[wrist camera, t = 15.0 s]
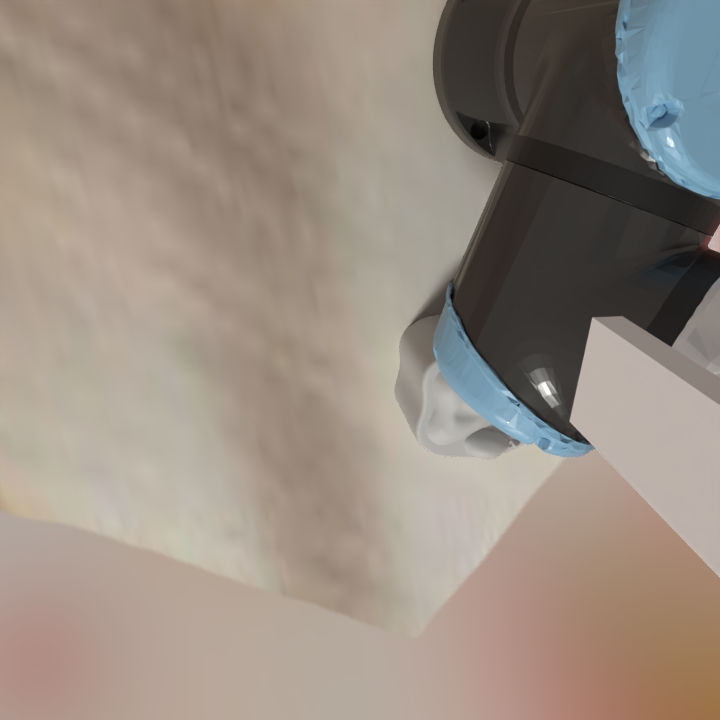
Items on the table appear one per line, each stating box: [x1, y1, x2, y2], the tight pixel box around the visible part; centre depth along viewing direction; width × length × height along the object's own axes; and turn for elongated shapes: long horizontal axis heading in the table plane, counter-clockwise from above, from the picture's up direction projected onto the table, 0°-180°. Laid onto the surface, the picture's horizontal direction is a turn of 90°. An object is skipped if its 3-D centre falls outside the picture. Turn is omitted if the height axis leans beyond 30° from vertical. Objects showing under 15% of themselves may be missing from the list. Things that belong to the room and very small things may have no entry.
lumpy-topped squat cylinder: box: [395, 314, 525, 459], centre depth 52 cm, size 10×13×9 cm
